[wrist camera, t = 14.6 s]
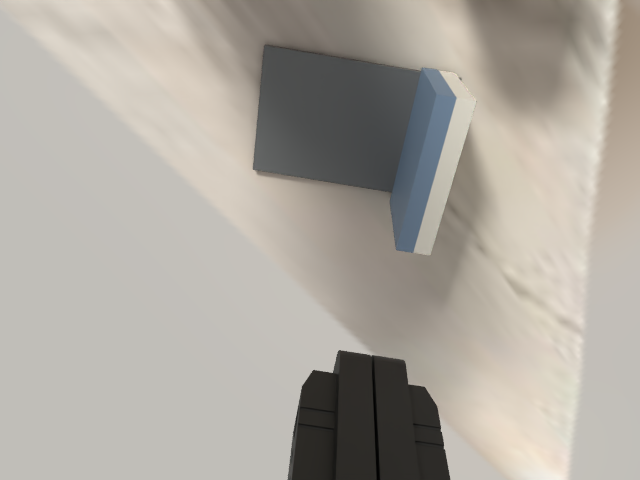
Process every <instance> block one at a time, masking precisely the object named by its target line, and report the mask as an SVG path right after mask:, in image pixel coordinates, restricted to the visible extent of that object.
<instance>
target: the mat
mask: <svg viewBox="0 0 640 480" xmlns="http://www.w3.org/2000/svg"><path fill="white" fill-rule="evenodd" d="M420 74H421V71H418V70H412V69H406V68H400V67H394V66H388V65H382V64H376V63H370V62H364V61H358V60H353V59H347V58H341V57H335V56H329V55H323V54H317V53H311V52H305V51H299V50H293V49H287V48H281V47H275V46H270V45H265V46H264V54H263V65H262V76H261V87H260V98H259V109H258V120H257V131H256V141H255V152H254V163H253V170H258V171H264V172H271V173H277V174H283V175H289V176H295V177H301V178H307V179H313V180H319V181H326V182H332V183H338V184H344V185H350V186H356V187H362V188H368V189H375V190H381V191H387V192H392V190H393V186H394V182H395V178H396V174H397V170H398V165H399V161H400V157H401V153H402V149H403V145H404V140H405V136H406V132H407V128H408V124H409V120H410V115H411V111H412V107H413V103H414V99H415V95H416V90H417V86H418V82H419V78H420ZM458 78H459V77H458ZM459 79H460V80H461V78H459Z"/></svg>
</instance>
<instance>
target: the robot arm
mask: <svg viewBox="0 0 640 480" xmlns="http://www.w3.org/2000/svg"><path fill="white" fill-rule="evenodd" d="M288 480H450V476H449V470H448V465H447V459H446V453H445V450H444V442H443V436H442V432H441V426H440V420H439V414H438V408H437V406H436V404H435V402H434V401H433V399H432V398H431V396H430V394H429V393H428V391H427V390H426V388H425V387H421V386H415V385H408V379H407V371H406V364H405V361H404V360H400V359H393V358H387V357H380V356H374V355H372V356H370V355H367V354H360V353H354V352H347V351H341V350H339V351H338V354H337V357H336V362H335V366H334V371H333V373H329V372H322V371H315V370H313V371H312V373H311V374H310V376H309V377H308V379H307V380H306V382H305V383H304V384H303V386H302V390H301V395H300V400H299V405H298V411H297V416H296V421H295V426H294V431H293V440H292V448H291V456H290V466H289V474H288Z"/></svg>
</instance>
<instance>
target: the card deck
mask: <svg viewBox="0 0 640 480" xmlns="http://www.w3.org/2000/svg"><path fill="white" fill-rule="evenodd" d="M476 102H477V101H476V100H475V98H474V97H473V96H472V94H471V93H470V92H469V90H468V89H467V88H466V87H465V85H464V84H463V83H462V81H461V80H460V79H459V78H458V76H457V75H456V74H455V73H453V72H447V71H441V70H435V69H429V68H423V67H422V70H421V74H420V78H419V82H418V86H417V90H416V95H415V99H414V103H413V107H412V111H411V115H410V120H409V124H408V128H407V132H406V136H405V140H404V145H403V149H402V153H401V157H400V161H399V165H398V170H397V174H396V178H395V182H394V186H393V190H392V195H391V199H390V207H391V215H392V222H393V230H394V237H395V245H396V250H399V251H405V252H411V253H417V254H424V255H431V252H432V248H433V245H434V242H435V238H436V235H437V232H438V228H439V225H440V222H441V218H442V215H443V212H444V208H445V205H446V202H447V198H448V195H449V192H450V188H451V185H452V182H453V179H454V175H455V172H456V169H457V165H458V162H459V159H460V155H461V152H462V149H463V145H464V142H465V139H466V135H467V132H468V129H469V125H470V122H471V119H472V115H473V112H474V109H475V105H476Z"/></svg>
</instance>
